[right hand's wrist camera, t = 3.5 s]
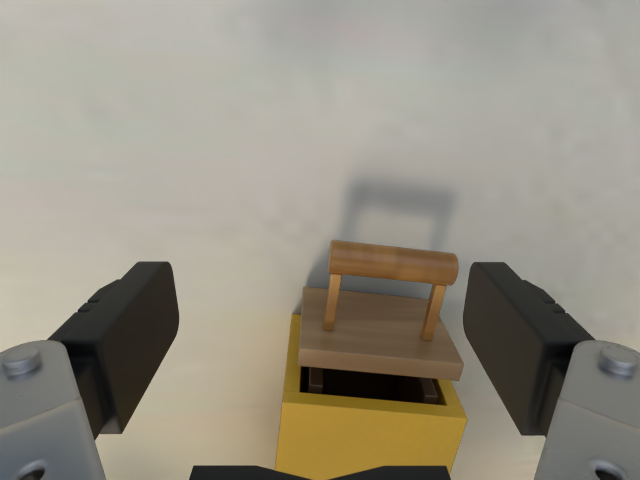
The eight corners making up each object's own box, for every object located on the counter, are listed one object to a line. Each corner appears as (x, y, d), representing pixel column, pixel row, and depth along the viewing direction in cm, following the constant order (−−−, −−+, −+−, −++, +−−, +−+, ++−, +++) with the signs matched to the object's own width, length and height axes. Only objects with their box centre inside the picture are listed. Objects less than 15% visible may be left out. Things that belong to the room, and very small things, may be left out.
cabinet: (292, 313, 31) (282, 402, 22) (427, 326, 31) (468, 419, 23) (274, 477, 37) (261, 594, 28) (387, 486, 37) (407, 604, 29)
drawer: (312, 211, 27) (310, 255, 20) (449, 226, 27) (491, 274, 21) (283, 453, 34) (275, 542, 28) (390, 462, 35) (407, 551, 28)
